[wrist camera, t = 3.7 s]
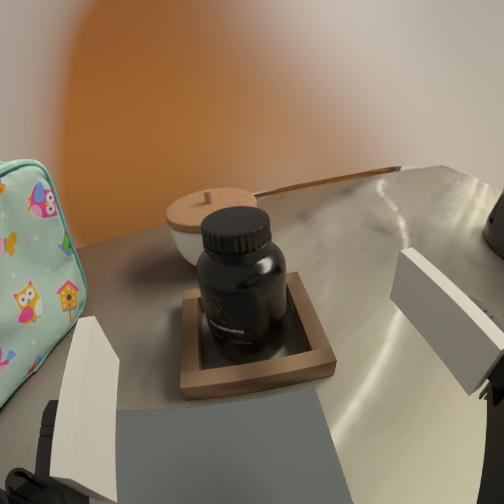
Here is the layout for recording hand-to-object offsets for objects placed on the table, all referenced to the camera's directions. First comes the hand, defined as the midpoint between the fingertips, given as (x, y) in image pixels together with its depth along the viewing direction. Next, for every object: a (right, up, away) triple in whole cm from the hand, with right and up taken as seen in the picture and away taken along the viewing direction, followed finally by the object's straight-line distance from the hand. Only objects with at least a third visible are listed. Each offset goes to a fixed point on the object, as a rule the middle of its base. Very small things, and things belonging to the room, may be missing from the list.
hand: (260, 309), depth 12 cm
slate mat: (-4, -14, +3) cm, 15 cm away
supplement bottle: (0, -6, +15) cm, 16 cm away
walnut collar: (0, -6, +15) cm, 16 cm away
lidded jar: (-4, +1, +27) cm, 27 cm away
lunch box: (-27, -10, +13) cm, 32 cm away
